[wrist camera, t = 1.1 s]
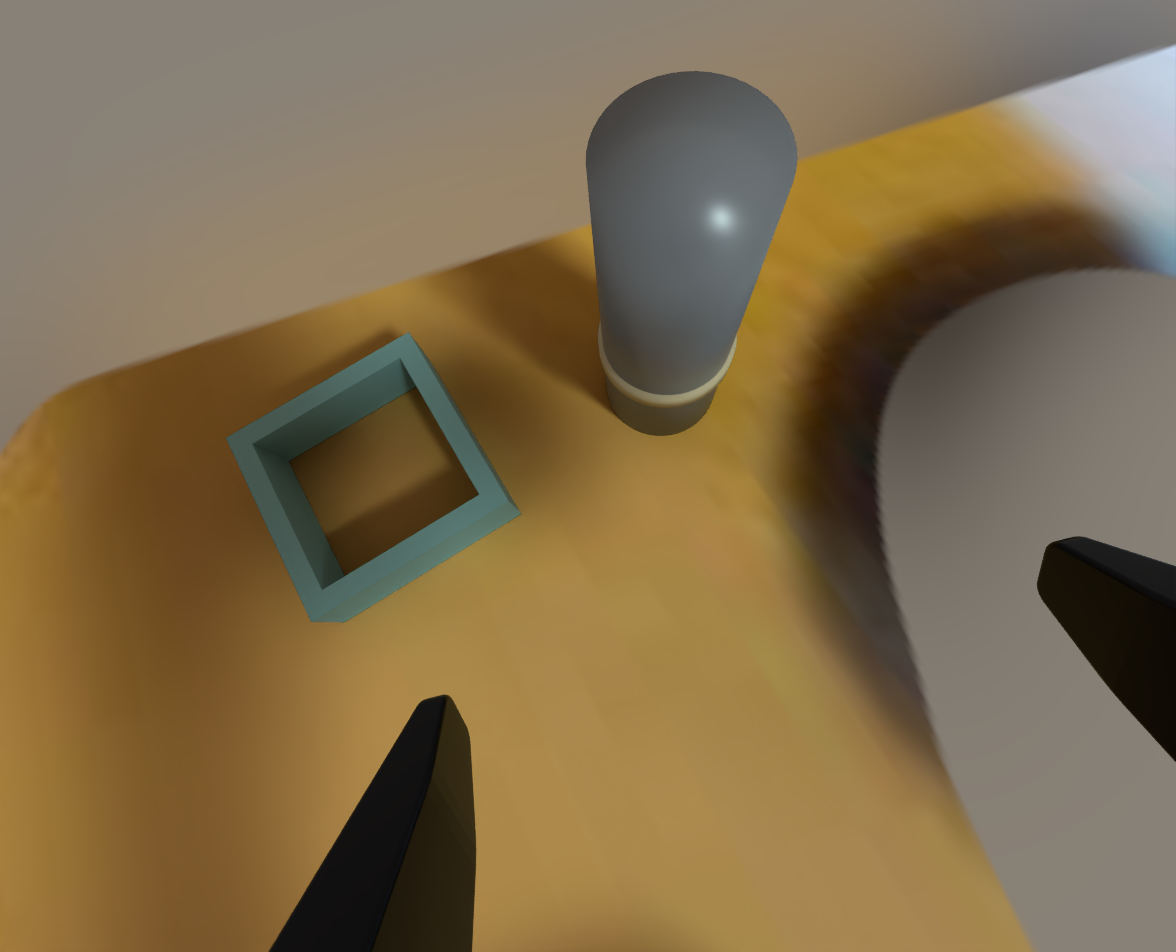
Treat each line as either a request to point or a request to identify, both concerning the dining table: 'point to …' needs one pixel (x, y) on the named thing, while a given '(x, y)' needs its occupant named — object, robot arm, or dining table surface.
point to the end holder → (322, 416)
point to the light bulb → (681, 236)
